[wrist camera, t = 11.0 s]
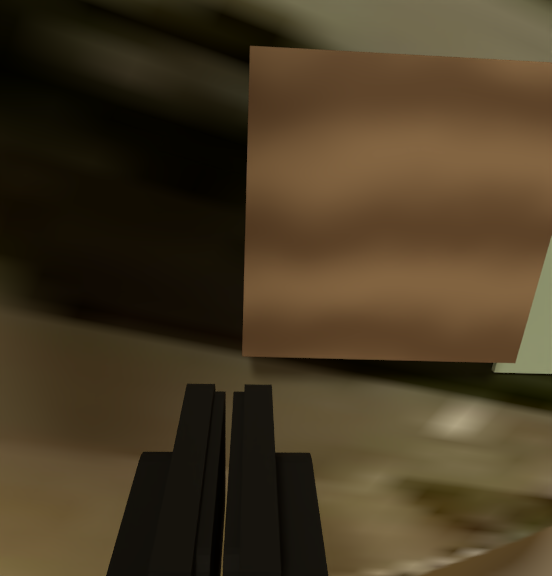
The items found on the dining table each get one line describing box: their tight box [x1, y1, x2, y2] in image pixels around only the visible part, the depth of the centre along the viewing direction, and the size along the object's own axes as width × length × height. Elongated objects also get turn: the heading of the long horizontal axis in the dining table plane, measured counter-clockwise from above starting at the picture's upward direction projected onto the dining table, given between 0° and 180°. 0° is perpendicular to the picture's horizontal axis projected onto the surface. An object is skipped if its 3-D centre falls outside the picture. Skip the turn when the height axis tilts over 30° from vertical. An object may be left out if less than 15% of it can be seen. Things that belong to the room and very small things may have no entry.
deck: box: [242, 46, 552, 363], centre depth 28 cm, size 16×16×4 cm
